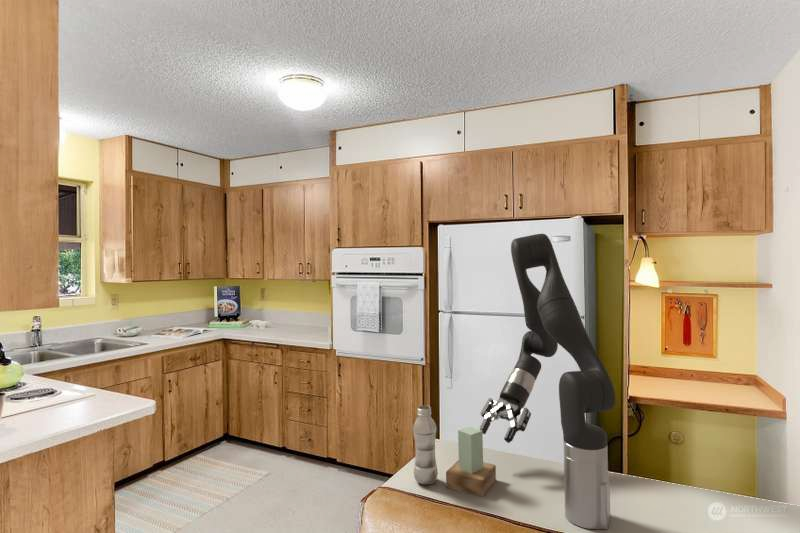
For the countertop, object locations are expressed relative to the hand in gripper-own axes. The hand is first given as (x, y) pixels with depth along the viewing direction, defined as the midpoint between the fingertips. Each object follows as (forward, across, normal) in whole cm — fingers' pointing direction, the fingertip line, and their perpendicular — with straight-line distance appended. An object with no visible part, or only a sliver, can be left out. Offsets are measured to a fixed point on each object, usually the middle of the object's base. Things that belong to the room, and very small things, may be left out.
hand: (494, 436), depth 126 cm
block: (+11, 0, -3) cm, 11 cm away
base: (+14, 0, 0) cm, 14 cm away
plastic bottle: (+20, -8, -6) cm, 23 cm away
